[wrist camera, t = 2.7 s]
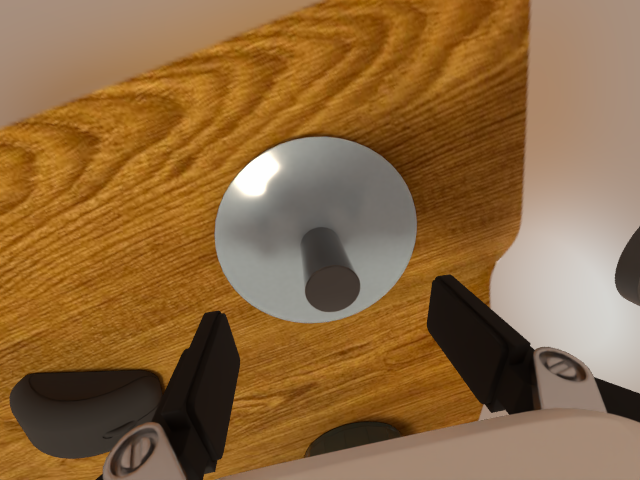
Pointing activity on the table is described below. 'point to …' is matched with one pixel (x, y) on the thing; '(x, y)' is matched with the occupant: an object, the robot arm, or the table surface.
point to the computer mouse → (83, 409)
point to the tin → (352, 437)
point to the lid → (315, 229)
